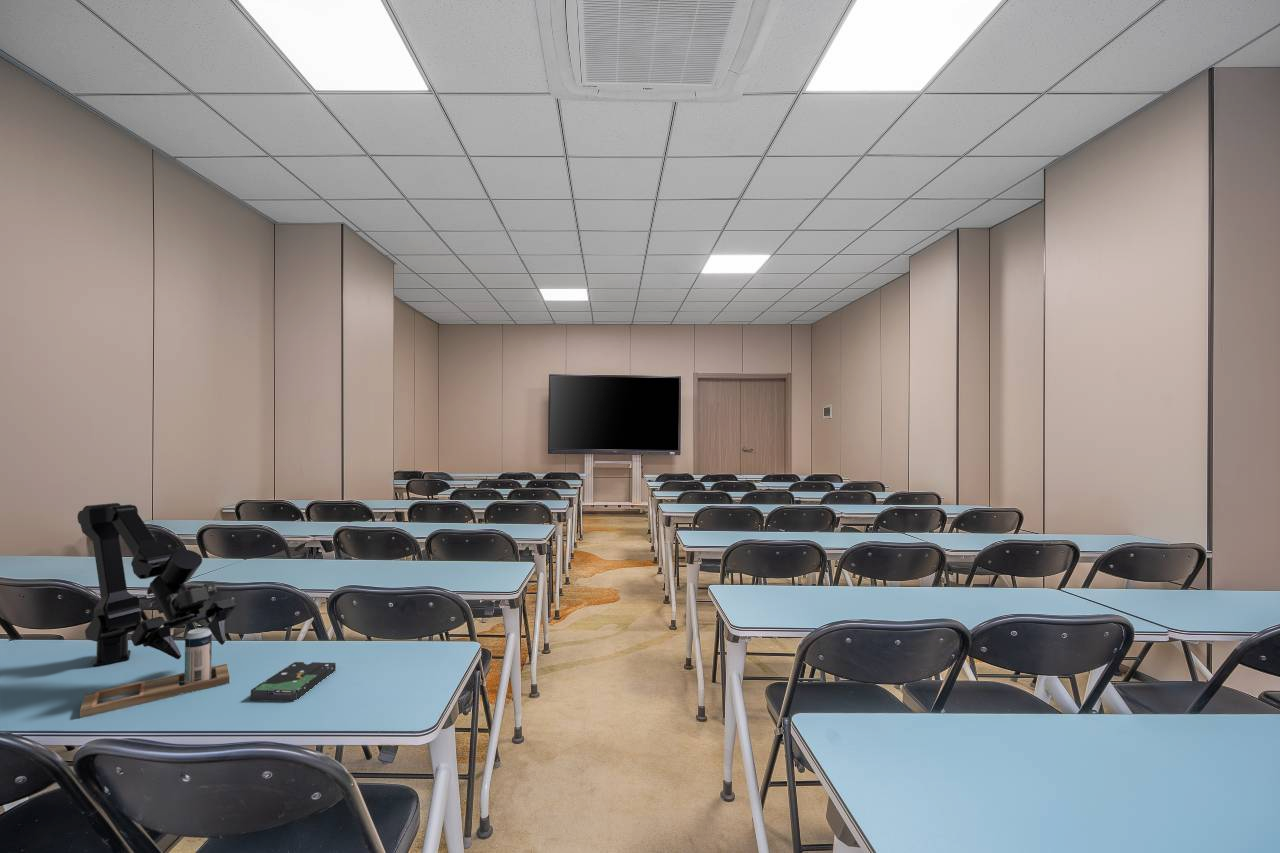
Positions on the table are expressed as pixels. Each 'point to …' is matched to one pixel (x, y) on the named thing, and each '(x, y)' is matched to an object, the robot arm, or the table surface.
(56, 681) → the table surface
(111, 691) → the wooden tray
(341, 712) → the table surface
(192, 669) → the white cylinder
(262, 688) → the disk drive
